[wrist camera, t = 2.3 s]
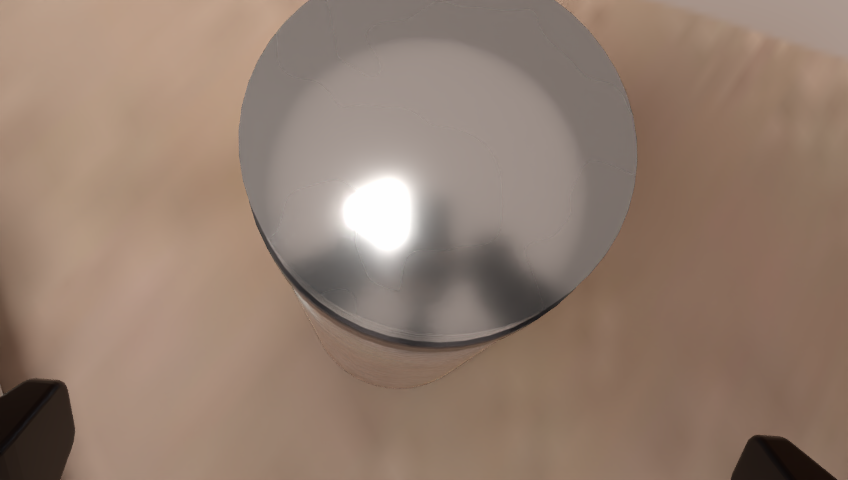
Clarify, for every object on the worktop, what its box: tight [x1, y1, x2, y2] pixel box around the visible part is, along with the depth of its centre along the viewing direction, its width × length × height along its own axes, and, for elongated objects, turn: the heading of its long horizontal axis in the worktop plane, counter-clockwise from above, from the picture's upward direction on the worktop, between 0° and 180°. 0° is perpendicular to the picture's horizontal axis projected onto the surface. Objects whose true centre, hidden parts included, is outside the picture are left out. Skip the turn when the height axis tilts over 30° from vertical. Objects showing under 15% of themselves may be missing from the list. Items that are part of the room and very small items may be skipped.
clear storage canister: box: [239, 0, 637, 389], centre depth 15 cm, size 5×5×12 cm
